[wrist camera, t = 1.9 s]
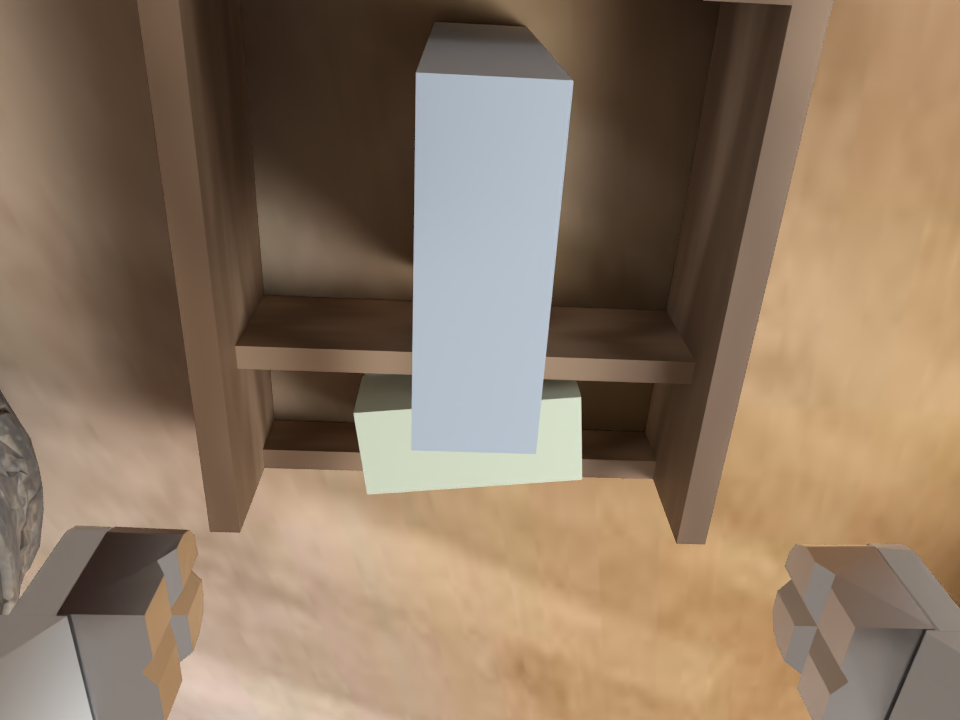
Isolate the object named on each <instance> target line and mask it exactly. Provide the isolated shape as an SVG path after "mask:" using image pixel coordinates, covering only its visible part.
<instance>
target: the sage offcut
mask: <svg viewBox="0 0 960 720" xmlns="http://www.w3.org/2000/svg"><path fill="white" fill-rule="evenodd" d="M353 414H354V420H355V426H356V431H357V437H358V443H359V449H360V455H361V461H362V467H363V472H364V478H365V484H366V490H367V494H381V493H396V492H410V491H425V490H439V489H454V488H468V487H483V486H498V485H512V484H527V483H541V482H556V481H570V480H582V422H581V394H580V391H579V387H578V383H577V380H552V379H543V389H542V399H541V409H540V419H539V429H538V439H537V449H536V454H514V453H480V452H447V451H413V450H411V424H412V375H406V374H389V375H375V376H362V379H361V383H360V387H359V391H358V396H357V400H356V404H355V408H354V413H353Z"/></svg>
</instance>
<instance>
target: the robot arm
mask: <svg viewBox="0 0 960 720" xmlns="http://www.w3.org/2000/svg"><path fill="white" fill-rule="evenodd" d="M197 555H198V551H197V546H196V540H195V535H194V534H193V533H192V532H191V531H190V530H178V529H155V528H133V527H114V528H112V527H97V526H75V527H73V528H71V529H69V530H67V531H66V532H65V534H64V535H63V537H62V538H61V539H60V541H59V542H58V544H57V545H56V547H55V548H54V550H53V551H52V553H51V554H50V555H49V557H48V558H47V560H46V561H45V563H44V564H43V566H42V567H41V569H40V570H39V571H38V573H37V574H36V576H35V577H34V579H33V580H32V582H31V583H30V585H29V586H28V587H27V589H26V590H25V592H24V593H23V595H22V596H21V598H20V599H19V601H18V602H17V603H16V605H15V606H14V608H13V609H12V611H11V612H10V614H9V615H0V720H167V718H168V716H169V713H170V711H171V708H172V705H173V703H174V700H175V698H176V695H177V692H178V690H179V687H180V685H181V682H182V675H181V669H180V662H181V661H182V660H183V659H185V658H186V657H187V656H188V655H190V654H191V653H192V652H193V650H194V647H195V645H196V642H197V639H198V636H199V633H200V627H201V622H202V616H203V598H204V594H203V586H202V580H201V579H200V578H199V577H198V576H197V575H196V574H195V573H194V572H193V571H192V567H193V565H194V562H195V560H196V558H197ZM785 568H786V570H787V572H788V573H789V575H790V577H791V580H790V581H789V582H788V583H786V584H785V585H784V586H783V587H782V588H781V589H779V590H778V591H777V595H776V599H775V603H774V607H773V631H774V635H775V639H776V643H777V646H778V648H779V650H780V653H781V655H782V657H783V659H784V661H785V662H786V663H788V664H789V665H790V666H792V667H793V668H794V669H795V670H797V671H798V672H799V673H801V677H800V680H799V683H798V687H797V689H798V691H799V693H800V695H801V697H802V700H803V702H804V704H805V706H806V708H807V710H808V712H809V714H810V716H811V718H812V720H960V608H959V607H958V606H957V604H956V603H955V602H954V601H953V599H952V598H951V597H950V596H949V594H948V593H947V592H946V591H945V589H944V588H943V587H942V585H941V584H940V583H939V582H938V580H937V579H936V578H935V577H934V575H933V574H932V573H931V571H930V570H929V569H928V568H927V566H926V565H925V564H924V563H923V561H922V560H921V559H920V558H919V556H918V555H917V554H916V552H915V551H914V550H913V549H911V548H910V547H908V546H906V545H904V544H867V545H836V544H795V545H794V547H793V548H792V549H791V550H790V552H789V554H788V558H787V561H786V564H785Z"/></svg>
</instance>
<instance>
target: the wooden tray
mask: <svg viewBox="0 0 960 720" xmlns="http://www.w3.org/2000/svg"><path fill="white" fill-rule="evenodd" d="M705 1H721V4H720V9H719V15H718V21H717V26H716V32H715V38H714V43H713V49H712V55H711V60H710V66H709V72H708V77H707V83H706V89H705V95H704V100H703V106H702V112H701V117H700V123H699V129H698V134H697V140H696V146H695V151H694V157H693V163H692V168H691V174H690V180H689V185H688V191H687V197H686V202H685V208H684V214H683V220H682V225H681V231H680V237H679V242H678V248H677V254H676V259H675V265H674V271H673V276H672V282H671V288H670V293H669V299H668V305H667V310H666V311H661V310H635V309H609V308H582V307H556V306H551V310H550V320H549V330H548V340H547V350H546V360H545V370H544V379H552V380H582V381H611V382H640V383H654V384H653V390H652V396H651V401H650V407H649V413H648V418H647V424H646V430H645V432H630V431H598V430H582V477H598V478H633V479H653V480H654V483H655V486H656V488H657V491H658V494H659V497H660V499H661V502H662V505H663V508H664V510H665V513H666V516H667V519H668V521H669V524H670V527H671V530H672V532H673V535H674V538H675V541H676V543H677V544H705V542H706V538H707V534H708V529H709V525H710V521H711V517H712V513H713V508H714V504H715V500H716V496H717V491H718V487H719V483H720V479H721V474H722V470H723V466H724V462H725V458H726V453H727V449H728V445H729V441H730V436H731V432H732V428H733V424H734V419H735V415H736V411H737V407H738V403H739V398H740V394H741V390H742V386H743V381H744V377H745V373H746V369H747V365H748V360H749V356H750V352H751V348H752V343H753V339H754V335H755V331H756V326H757V322H758V318H759V314H760V310H761V305H762V301H763V297H764V293H765V288H766V284H767V280H768V276H769V271H770V267H771V263H772V259H773V255H774V250H775V246H776V242H777V238H778V233H779V229H780V225H781V221H782V216H783V212H784V208H785V204H786V200H787V195H788V191H789V187H790V183H791V178H792V174H793V170H794V166H795V162H796V157H797V153H798V149H799V145H800V140H801V136H802V132H803V128H804V123H805V119H806V115H807V111H808V107H809V102H810V98H811V94H812V90H813V85H814V81H815V77H816V73H817V68H818V64H819V60H820V56H821V52H822V47H823V43H824V39H825V35H826V30H827V26H828V22H829V18H830V13H831V9H832V5H833V1H834V0H705ZM137 6H138V14H139V21H140V28H141V35H142V43H143V50H144V57H145V64H146V72H147V79H148V86H149V93H150V101H151V108H152V115H153V122H154V130H155V137H156V144H157V151H158V159H159V166H160V173H161V180H162V187H163V195H164V202H165V209H166V216H167V224H168V231H169V238H170V245H171V253H172V260H173V267H174V274H175V282H176V289H177V296H178V303H179V311H180V318H181V325H182V332H183V340H184V347H185V354H186V361H187V369H188V376H189V383H190V390H191V398H192V405H193V412H194V419H195V427H196V434H197V441H198V448H199V456H200V463H201V470H202V477H203V485H204V492H205V499H206V506H207V514H208V521H209V528H210V532H238V533H240V531H241V528H242V526H243V523H244V520H245V518H246V515H247V513H248V510H249V507H250V505H251V502H252V499H253V497H254V494H255V491H256V489H257V486H258V484H259V481H260V478H261V476H262V473H263V470H264V468H287V469H321V470H356V471H363V467H362V461H361V455H360V449H359V443H358V437H357V431H356V426H355V423H344V422H313V421H281V420H274V409H273V397H272V385H271V373H270V370H290V371H319V372H348V373H377V374H406V375H412V344H413V301H400V300H373V299H347V298H321V297H295V296H269V295H264V288H263V276H262V264H261V252H260V240H259V227H258V215H257V203H256V191H255V179H254V167H253V155H252V143H251V131H250V119H249V106H248V94H247V82H246V70H245V58H244V46H243V34H242V22H241V10H240V0H137Z"/></svg>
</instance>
